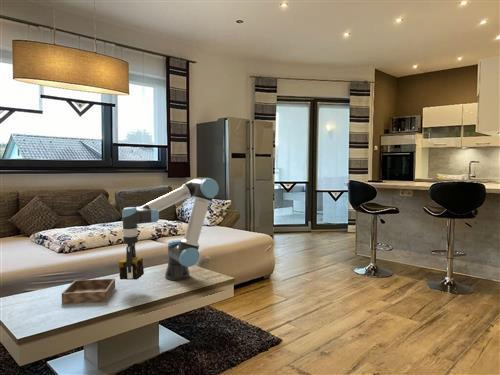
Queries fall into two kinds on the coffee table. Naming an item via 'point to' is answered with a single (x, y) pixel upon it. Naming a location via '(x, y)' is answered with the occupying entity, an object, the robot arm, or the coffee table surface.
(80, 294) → the crate
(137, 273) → the candle
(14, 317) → the coffee table surface
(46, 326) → the coffee table surface
